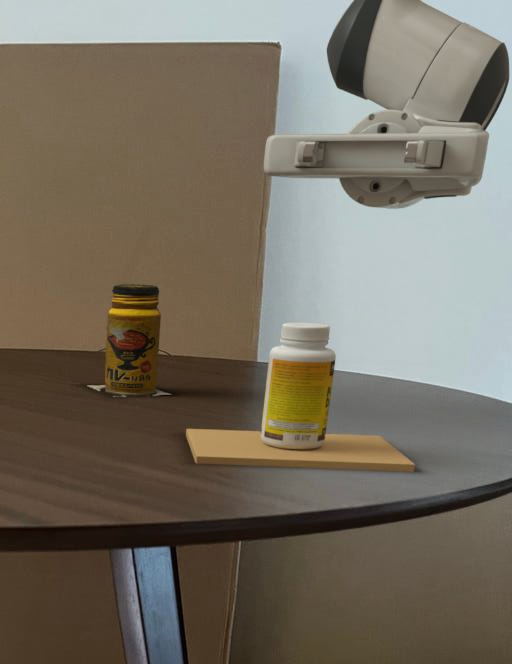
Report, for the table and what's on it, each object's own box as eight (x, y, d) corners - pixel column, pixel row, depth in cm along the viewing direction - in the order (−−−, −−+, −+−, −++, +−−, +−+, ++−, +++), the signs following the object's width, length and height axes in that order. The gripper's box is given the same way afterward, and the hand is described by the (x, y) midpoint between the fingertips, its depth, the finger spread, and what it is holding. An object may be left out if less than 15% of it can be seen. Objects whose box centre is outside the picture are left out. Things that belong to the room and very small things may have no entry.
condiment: (114, 398, 117) (120, 287, 112) (85, 387, 124) (90, 282, 119) (171, 396, 119) (180, 287, 114) (140, 385, 126) (147, 282, 122)
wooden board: (378, 444, 96) (380, 435, 96) (413, 473, 85) (415, 464, 85) (185, 436, 97) (186, 428, 97) (195, 465, 86) (196, 455, 86)
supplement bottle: (331, 452, 88) (348, 328, 84) (267, 450, 88) (281, 327, 84) (314, 439, 94) (329, 322, 90) (254, 437, 93) (266, 320, 90)
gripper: (286, 126, 106) (248, 113, 95) (499, 123, 98) (486, 110, 86) (279, 192, 109) (241, 188, 97) (486, 195, 100) (472, 191, 89)
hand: (358, 151), depth 92 cm, fingers open, 8 cm apart
